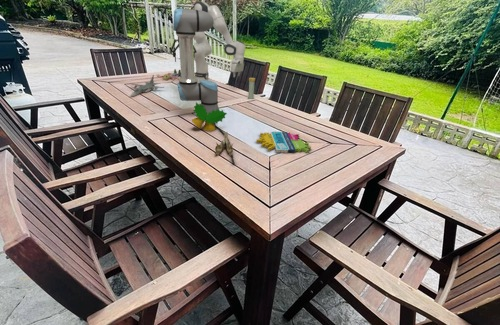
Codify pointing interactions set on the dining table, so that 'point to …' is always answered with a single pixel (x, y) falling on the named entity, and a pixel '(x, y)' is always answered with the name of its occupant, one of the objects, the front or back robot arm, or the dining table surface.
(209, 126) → the ornament
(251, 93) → the jar
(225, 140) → the jawbone
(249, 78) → the lid
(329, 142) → the dining table surface
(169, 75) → the toy
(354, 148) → the dining table surface
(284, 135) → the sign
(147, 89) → the airplane
